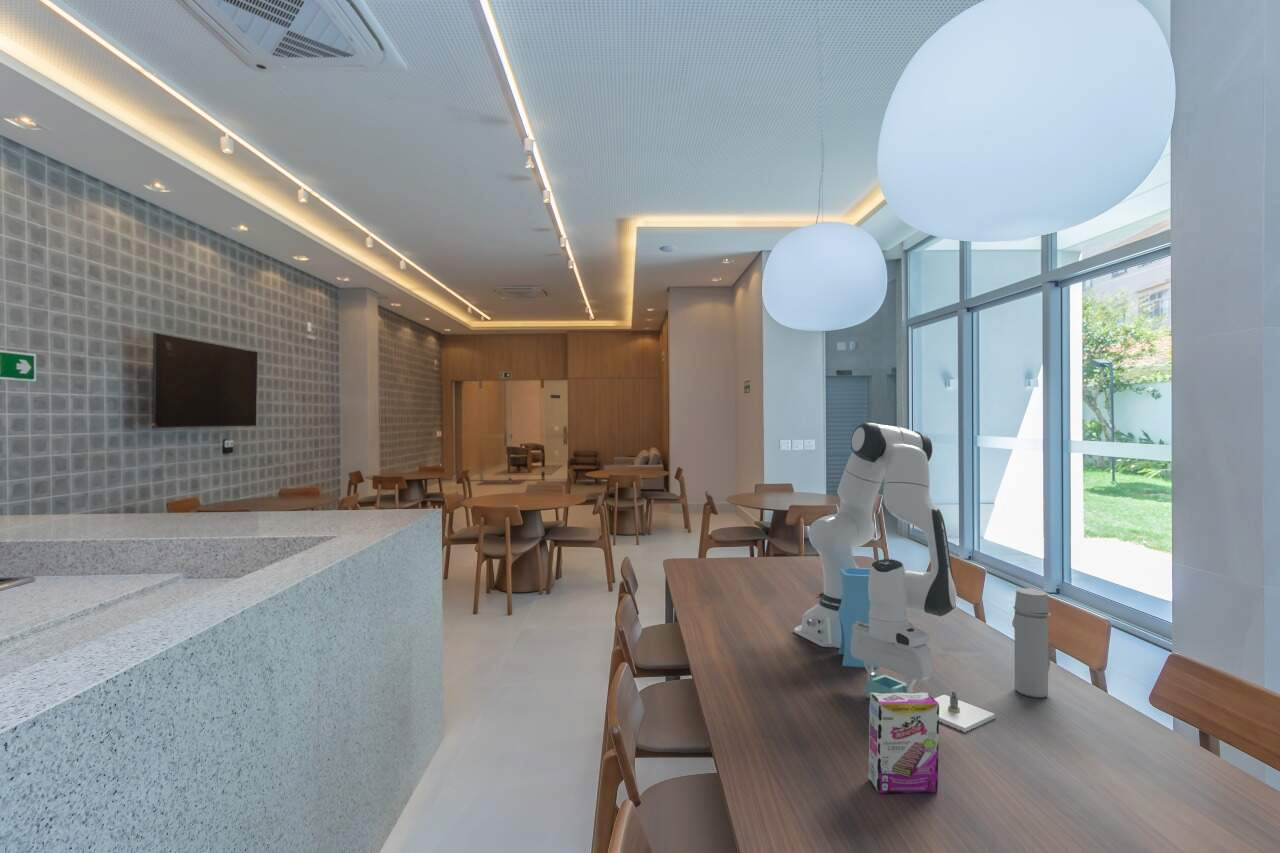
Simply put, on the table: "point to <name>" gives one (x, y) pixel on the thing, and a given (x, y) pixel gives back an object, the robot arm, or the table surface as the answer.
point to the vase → (853, 609)
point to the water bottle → (1031, 642)
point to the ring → (883, 685)
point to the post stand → (961, 713)
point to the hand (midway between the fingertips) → (889, 686)
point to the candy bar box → (903, 742)
